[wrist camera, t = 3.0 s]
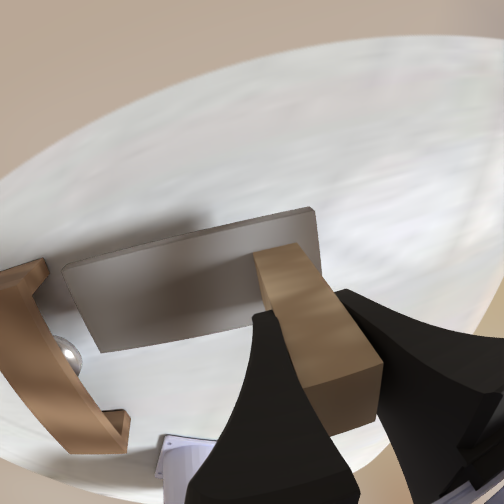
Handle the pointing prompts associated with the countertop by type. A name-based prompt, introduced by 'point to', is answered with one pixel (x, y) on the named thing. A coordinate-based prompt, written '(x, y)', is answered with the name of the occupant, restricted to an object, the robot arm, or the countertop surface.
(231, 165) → the countertop surface
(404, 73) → the countertop surface
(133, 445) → the countertop surface
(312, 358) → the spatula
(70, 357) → the silver flat dome
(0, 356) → the brown wooden bridge
